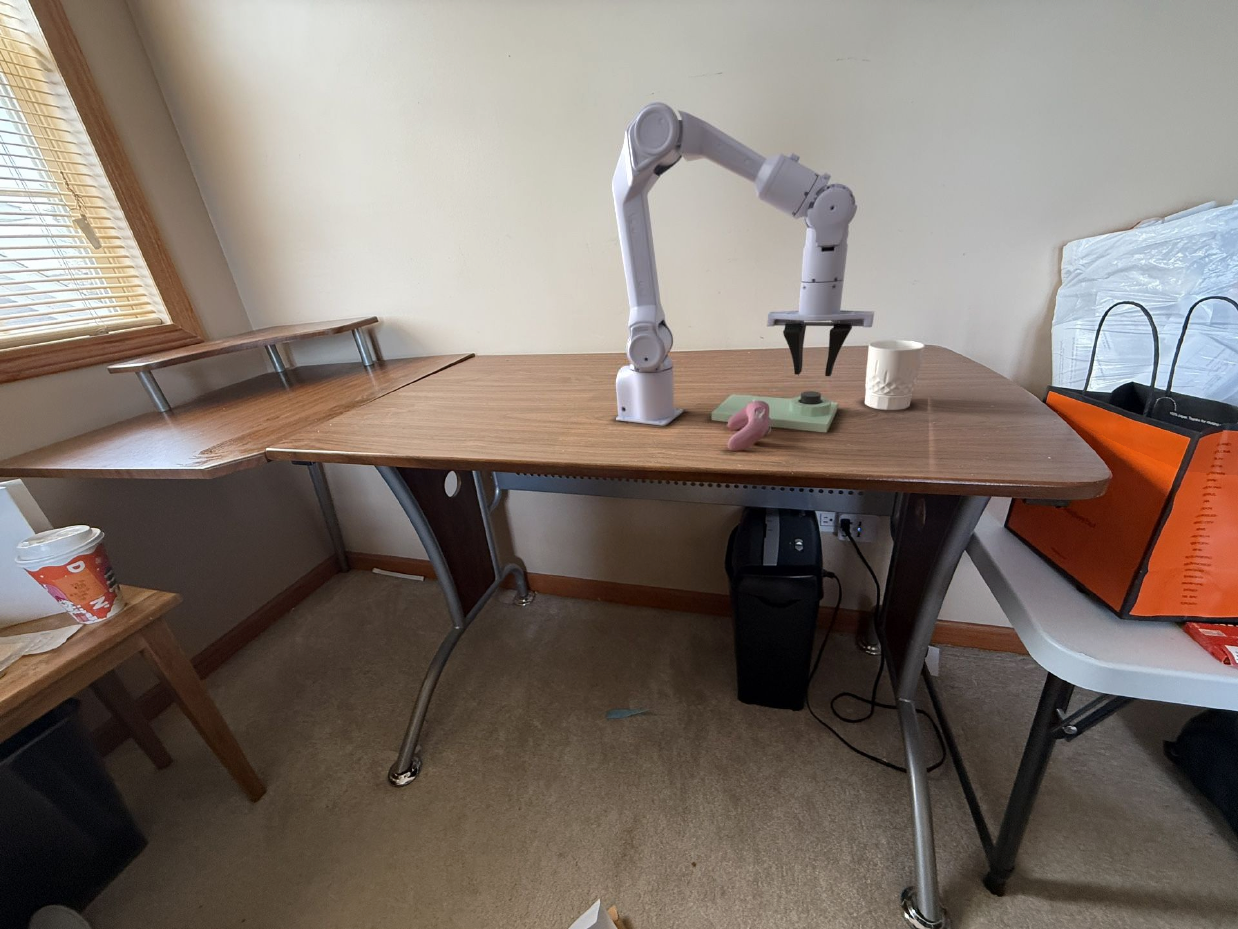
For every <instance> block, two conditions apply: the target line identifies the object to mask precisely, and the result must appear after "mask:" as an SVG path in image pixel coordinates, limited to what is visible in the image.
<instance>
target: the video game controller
mask: <svg viewBox="0 0 1238 929" xmlns="http://www.w3.org/2000/svg"><path fill="white" fill-rule="evenodd" d="M770 422H771V418H769V405H768V404H767V403H766V402H764V401H761V400H759V401H756V400H755V399H754V400H753V402H749V403H748V404H747V405H746V406H745V407H744V408H743V409H742V410H740V411H739V412H737V413H736V414H734V415H733V416H732V417H731V418H730V419H729V421H728V422H727V424H726V425H727V428H728V429H729V430H730V431H737V432H736V433H734V434H733V435H732V436H731V437H730V438H729V439H728V441H727V448H728V449H729V450H730V451H731V452H739V451H740V452H741V451H744V450H746V449H748V448H750V447H751V446H754V445H756V443H757V442H758V441H759V440H762V438H763V437H764V436H765V435H766V436H767V435H769V434H770V433H771V431H772V427H771V426H769V425H770Z"/></svg>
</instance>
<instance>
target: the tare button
mask: <svg viewBox="0 0 1238 929" xmlns="http://www.w3.org/2000/svg"><path fill="white" fill-rule="evenodd" d="M800 396H801V400H800V403H802V404H809V405H815V404H820V402H821V397H822V393H821V392H819V391H814V390H813V391H812V390H808V391H807V390H806V391H802V392H801V393H800Z"/></svg>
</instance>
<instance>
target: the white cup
mask: <svg viewBox="0 0 1238 929" xmlns="http://www.w3.org/2000/svg"><path fill="white" fill-rule="evenodd" d="M925 348H926V345H925V343H922V342H919V341H914V340H906V339H905V340H904V339H886V340H885V339H884V340H877V341H872V342H870V343H869V344H868V348H867V360H866V369H865V370H866V371H865V373H866V375H865V386H864V387H865V397H864V404H865V405H866V406H867V407H870V408H873V409H877V410H884V411H900V410H906V409H907V408H909V407H910V406H911V401H912V397H913V392H914V390H915V389H916V385H917V380H918V376H919V373H920V369H921V364H922V360H923V356H924V351H925Z"/></svg>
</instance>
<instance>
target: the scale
mask: <svg viewBox="0 0 1238 929" xmlns="http://www.w3.org/2000/svg"><path fill="white" fill-rule="evenodd" d="M754 399H755V400H756V401H759V400H761V401H764V402H766V403H767V404H768V405H769V418H771V422H770V425H769V427H771V428H772V427H773V428H782V429H783V428H784V429H790V430H792V429H793V430H799V431H800V430H801V431H807V432H808V431H810V432H817V433H828V430H829V428H830V426H831V424H832V422H833V420H834V417H835V415H836V413H837V411H838V406H839V402H835V401H832V400H830V399H829V398H827V397H823V396H821V402H820V404H815V405H809V404H802V403H800V400H801V395H799V396H794V397H792V398H788V397H787V398H784V397H773V396H763V395H762V396H760V395H749V394H735V393H731V394H730V396H728V397H727V398H726V399H724V401H723V402H722V403H720V404H719V405H718V406H717V407H716V408H715V409H713V410H712V412H711V421H718V422H727V423H728V421H729V419H730V418H731V417H732V416H733V415H734V414H736V413H737V412H739V411H740V410H742V409H743V408H744V407H745V406H746V405H747V404H748V403H749V402H753V400H754Z"/></svg>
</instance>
